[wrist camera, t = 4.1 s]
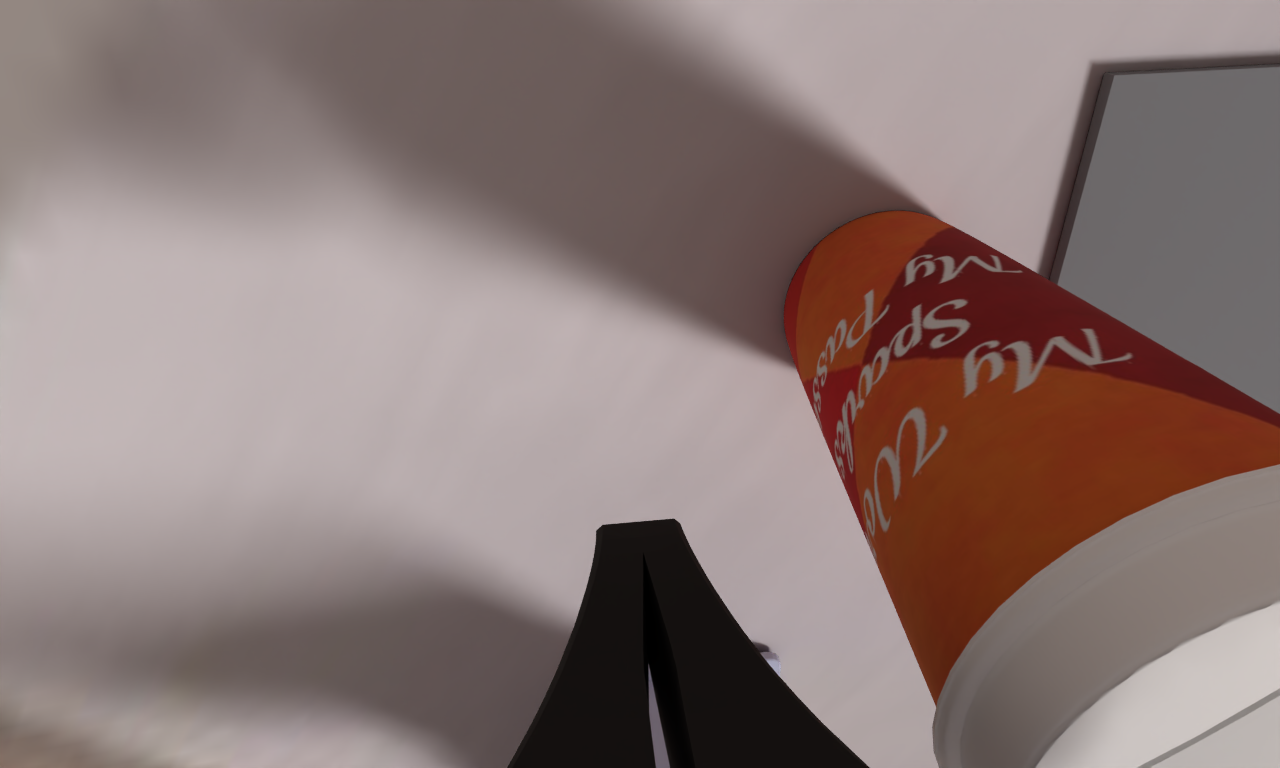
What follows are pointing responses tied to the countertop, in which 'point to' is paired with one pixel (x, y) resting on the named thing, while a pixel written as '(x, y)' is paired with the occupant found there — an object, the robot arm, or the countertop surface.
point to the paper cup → (1047, 505)
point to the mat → (1185, 217)
